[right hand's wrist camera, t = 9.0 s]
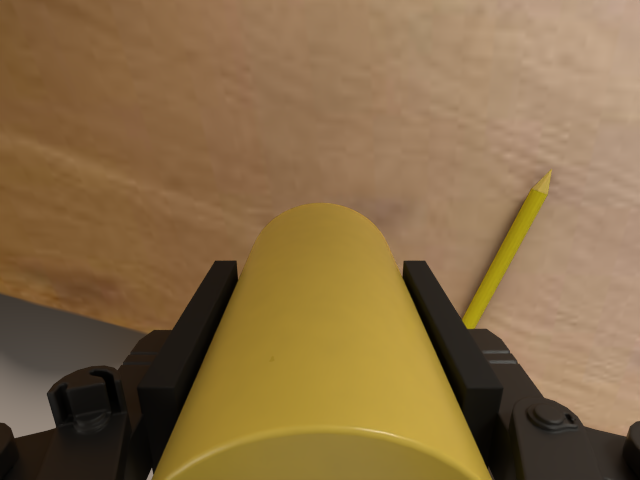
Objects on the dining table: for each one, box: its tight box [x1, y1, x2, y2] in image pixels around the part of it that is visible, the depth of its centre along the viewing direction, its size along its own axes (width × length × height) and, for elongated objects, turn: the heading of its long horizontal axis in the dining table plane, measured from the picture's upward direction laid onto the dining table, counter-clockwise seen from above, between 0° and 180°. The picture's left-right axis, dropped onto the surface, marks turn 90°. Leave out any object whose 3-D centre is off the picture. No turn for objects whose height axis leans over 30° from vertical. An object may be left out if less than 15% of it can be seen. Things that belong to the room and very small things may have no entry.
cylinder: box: [152, 203, 492, 480], centre depth 11 cm, size 6×6×11 cm
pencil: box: [462, 169, 552, 329], centre depth 27 cm, size 16×1×1 cm, turn 161°
